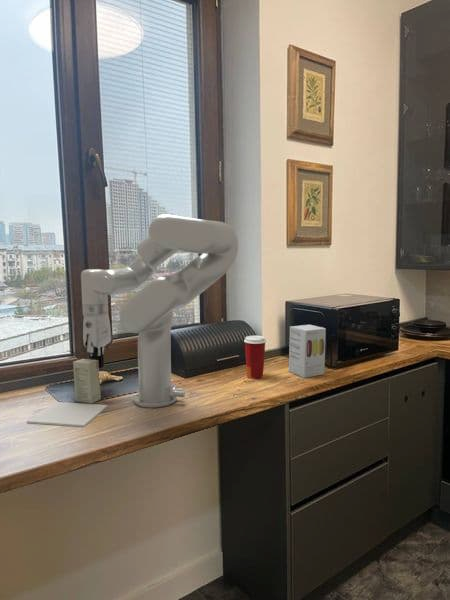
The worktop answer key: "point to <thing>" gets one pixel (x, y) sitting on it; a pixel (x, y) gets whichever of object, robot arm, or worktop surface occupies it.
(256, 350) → the paper cup
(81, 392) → the skincare box
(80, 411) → the mat
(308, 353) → the supplement box
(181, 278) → the robot arm
